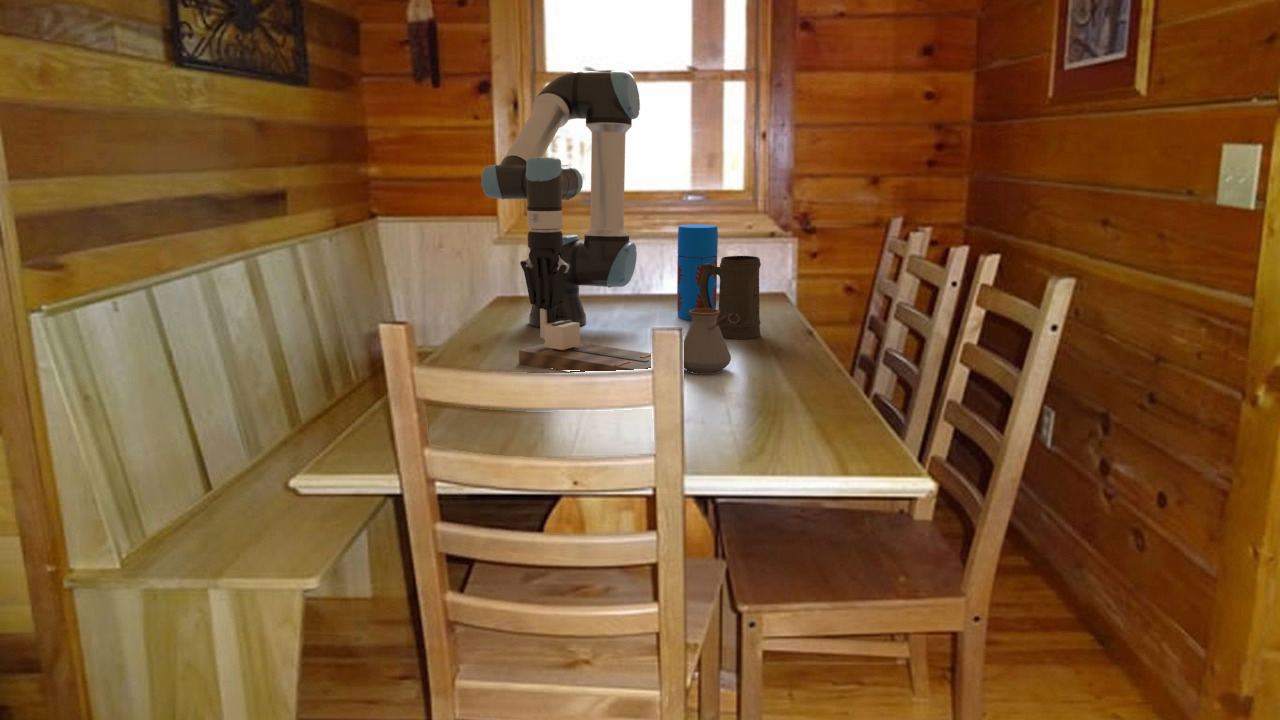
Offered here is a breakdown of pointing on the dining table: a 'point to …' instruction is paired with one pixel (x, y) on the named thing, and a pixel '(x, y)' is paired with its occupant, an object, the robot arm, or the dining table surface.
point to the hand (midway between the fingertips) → (547, 337)
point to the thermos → (695, 266)
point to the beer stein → (736, 295)
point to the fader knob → (562, 334)
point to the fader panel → (585, 358)
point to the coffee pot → (706, 342)
